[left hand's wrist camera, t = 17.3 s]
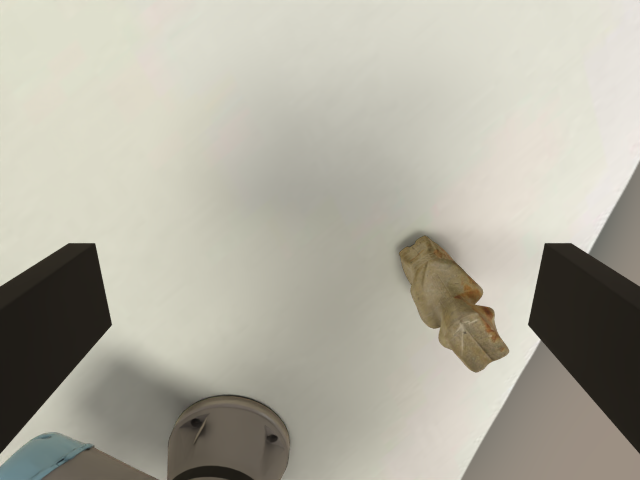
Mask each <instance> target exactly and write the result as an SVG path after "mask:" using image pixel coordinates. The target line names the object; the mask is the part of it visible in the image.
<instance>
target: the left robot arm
mask: <svg viewBox="0 0 640 480" xmlns="http://www.w3.org/2000/svg"><path fill="white" fill-rule="evenodd" d="M111 325H112V323H111V318H110V313H109V308H108V303H107V299H106V294H105V289H104V284H103V279H102V274H101V270H100V265H99V260H98V255H97V250H96V245H95V243H69V244H67V245H65V246H64V247H62V248H61V249H59V250H57V251H56V252H54V253H53V254H51V255H50V256H48V257H46V258H45V259H43V260H42V261H40V262H38V263H37V264H35V265H34V266H32V267H31V268H29V269H27V270H26V271H24V272H23V273H21V274H19V275H18V276H16V277H15V278H13V279H12V280H10V281H8V282H7V283H5V284H4V285H2V286H0V453H1V452H2V451H3V450H4V449H5V448H6V447H7V445H8V444H9V443H10V442H11V441H12V440H13V438H14V437H15V436H16V435H17V434H18V433H19V432H20V430H21V429H22V428H23V427H24V426H25V425H26V423H27V422H28V421H29V420H30V419H31V418H32V417H33V415H34V414H35V413H36V412H37V411H38V410H39V408H40V407H41V406H42V405H43V404H44V403H45V402H46V400H47V399H48V398H49V397H50V396H51V395H52V393H53V392H54V391H55V390H56V389H57V388H58V387H59V385H60V384H61V383H62V382H63V381H64V380H65V378H66V377H67V376H68V375H69V374H70V373H71V372H72V370H73V369H74V368H75V367H76V366H77V365H78V363H79V362H80V361H81V360H82V359H83V358H84V357H85V355H86V354H87V353H88V352H89V351H90V350H91V348H92V347H93V346H94V345H95V344H96V343H97V342H98V340H99V339H100V338H101V337H102V336H103V335H104V333H105V332H106V331H107V330H108V329H109V328H110V327H111ZM528 325H529V327H530V328H531V329H532V330H533V331H534V332H535V333H536V335H537V336H538V337H539V338H540V339H541V340H542V342H543V343H544V344H545V345H546V346H547V347H548V348H549V350H550V351H551V352H552V353H553V354H554V355H555V356H556V358H557V359H558V360H559V361H560V362H561V363H562V365H563V366H564V367H565V368H566V369H567V370H568V372H569V373H570V374H571V375H572V376H573V377H574V378H575V380H576V381H577V382H578V383H579V384H580V385H581V387H582V388H583V389H584V390H585V391H586V392H587V393H588V395H589V396H590V397H591V398H592V399H593V400H594V402H595V403H596V404H597V405H598V406H599V407H600V408H601V410H602V411H603V412H604V413H605V414H606V415H607V417H608V418H609V419H610V420H611V421H612V422H613V423H614V425H615V426H616V427H617V428H618V429H619V430H620V432H621V433H622V434H623V435H624V436H625V437H626V438H627V440H628V441H629V442H630V443H631V444H632V445H633V446H634V448H635V449H636V450H637V451H638V452H639V453H640V286H638V285H636V284H635V283H633V282H632V281H630V280H628V279H627V278H625V277H624V276H622V275H621V274H619V273H617V272H616V271H614V270H613V269H611V268H609V267H608V266H606V265H605V264H603V263H602V262H600V261H598V260H597V259H595V258H594V257H592V256H590V255H589V254H587V253H586V252H584V251H583V250H581V249H579V248H578V247H576V246H575V245H573V244H571V243H545V245H544V250H543V255H542V260H541V265H540V270H539V274H538V279H537V284H536V289H535V294H534V299H533V303H532V308H531V313H530V318H529V323H528ZM289 448H290V440H289V435H288V432H287V429H286V427H285V425H284V424H283V422H282V421H281V419H280V418H279V417H278V416H277V415H276V414H275V413H274V412H273V411H271V410H270V409H269V408H267V407H266V406H264V405H262V404H260V403H258V402H256V401H253V400H250V399H247V398H243V397H237V396H217V397H212V398H207V399H204V400H201V401H199V402H197V403H195V404H193V405H192V406H190V407H189V408H187V409H186V410H185V411H184V412H183V413H182V414H181V415H180V417H179V418H178V420H177V422H176V424H175V426H174V428H173V431H172V433H171V436H170V438H169V442H168V470H167V480H281V478H282V476H283V473H284V471H285V470H286V467H287V464H288V459H289ZM0 480H158V479H156V478H154V477H152V476H150V475H148V474H146V473H143V472H141V471H139V470H137V469H135V468H133V467H131V466H129V465H127V464H125V463H123V462H121V461H119V460H117V459H115V458H114V457H112V456H110V455H108V454H106V453H104V452H102V451H100V450H98V449H96V448H94V445H92V444H84V443H82V442H79V441H76V440H74V439H72V438H69V437H67V436H65V435H62V434H60V433H53V432H51V433H45V434H42V435H39V436H37V437H35V438H33V439H32V440H30V441H29V442H28V443H26V444H25V445H24V446H22V447H21V448H20V449H19V450H18V451H17V452H15V453H14V454H13V455H12V456H11V457H10V458H9V459H8V460H7V461H6V462H5V463H4V464H3V465H1V466H0Z"/></svg>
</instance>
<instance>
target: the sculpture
mask: <svg viewBox="0 0 640 480" xmlns="http://www.w3.org/2000/svg"><path fill="white" fill-rule="evenodd" d="M399 255H400V257H401V263H402V267H403V270H404V272H405V275H406V277H407V279H408V280H409V282H410V284H411V285H412V286H411V295H412V298H413V300H414V302H415V304H416V306H417V309H418V312H419V314H420V317H421V319H422V320H423V322H424V323H425V324H426V325H427V326H429V327H430V328H434V329H435V328H439V327H440V332H439V342H440V343H441V344H442V345H443V346H444V347H446V348H448V349H451V350H453V352H454V353H455V354H456V355H457V356H458V357H459V358H460V360H461V361H462V362H463V363H464V364H465V365H466V366H467V367H468V368H469V369H470V370H471V371H473V372H479V371H481V370H483V369H484V368H485V367H486V366H487V365H488V364H489V363H491V362H492V361H495V360H498V359H500V358H502V357H504V356H506V355H507V354H508V353H509V349H508V347H507V346H506V344H505V343H504V342H503V340H502V339H501V338H500V336H499V334H498V332H497V329H496V326H495V322H494V317H495V313H494V310H493V309H492V308H490V307H485V306H478V305H475V304H476V303H477V301H478V300H479V299H480V298H481V297H482V295H483V290H482V288H481V287H480V286H479V285H478V284H477V283H476V282H475V281H474V280H473V279H472V278H471V277H470V276H469V275H468V274H467V273H466V272H465V271H464V270H463V269H462V268H461V267H460V266H459V265H457V263H456V262H455V261H453V259H452V258H451V257H450V256H449V255H448V253H447V252H446V251H445V250H444V249H442V248H441V247H440V246H439V245H438V244H436V243H435V242H433V241H432V240H431V239H429V238H428V237H427V236H423V237H421V238H419V239H417V240H416V242H415V244H414V245H412V246H411V247H405V248H404V249H403V250H402V251H401V252H400V253H399Z"/></svg>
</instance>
